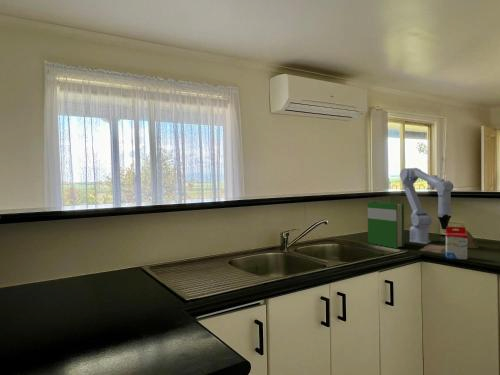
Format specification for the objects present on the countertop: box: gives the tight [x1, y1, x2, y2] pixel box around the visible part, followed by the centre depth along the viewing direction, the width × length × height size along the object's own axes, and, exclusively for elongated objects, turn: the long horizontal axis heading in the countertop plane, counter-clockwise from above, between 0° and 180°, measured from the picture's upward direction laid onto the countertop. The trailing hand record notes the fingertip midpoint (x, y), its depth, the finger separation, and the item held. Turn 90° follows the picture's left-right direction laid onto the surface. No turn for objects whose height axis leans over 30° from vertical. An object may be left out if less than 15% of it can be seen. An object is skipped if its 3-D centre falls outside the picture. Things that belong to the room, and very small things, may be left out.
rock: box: [465, 229, 479, 249], centre depth 189 cm, size 11×9×10 cm
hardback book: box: [367, 201, 405, 249], centre depth 198 cm, size 18×7×24 cm, turn 37°
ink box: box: [445, 226, 468, 260], centre depth 167 cm, size 8×5×15 cm, turn 68°
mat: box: [418, 246, 446, 254], centre depth 185 cm, size 13×12×1 cm
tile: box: [423, 244, 446, 253], centre depth 184 cm, size 8×2×8 cm
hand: (444, 229), depth 190 cm, fingers closed
